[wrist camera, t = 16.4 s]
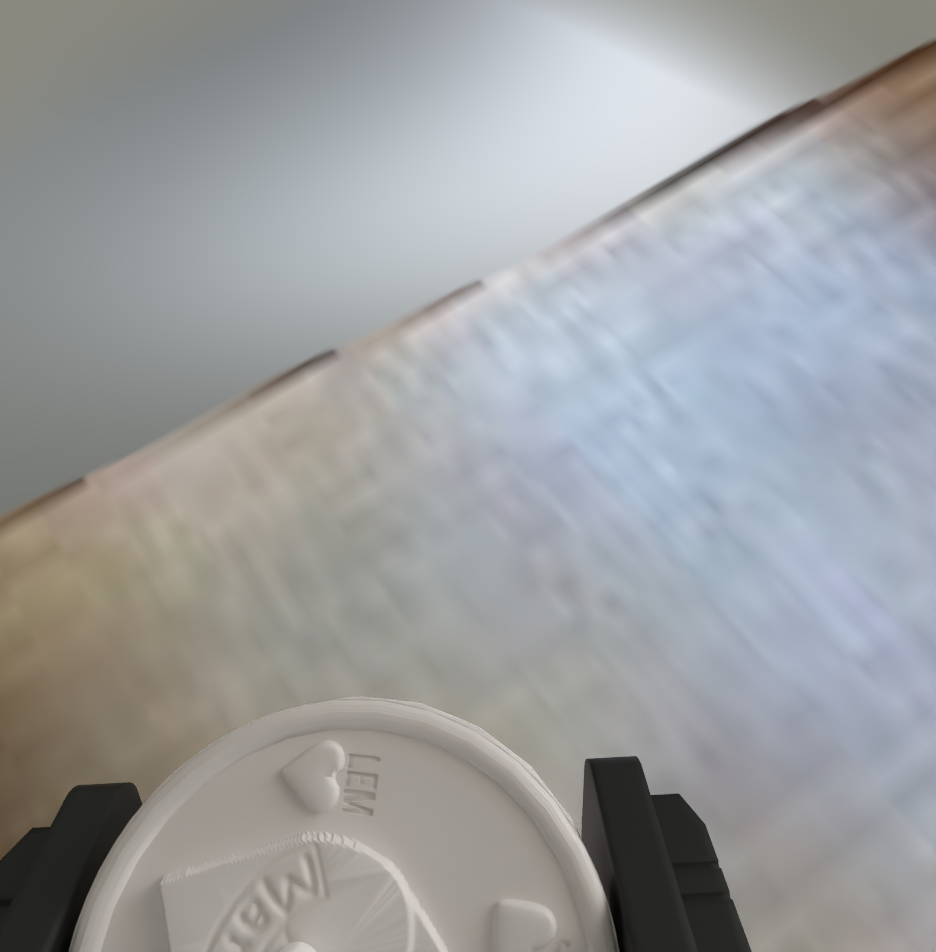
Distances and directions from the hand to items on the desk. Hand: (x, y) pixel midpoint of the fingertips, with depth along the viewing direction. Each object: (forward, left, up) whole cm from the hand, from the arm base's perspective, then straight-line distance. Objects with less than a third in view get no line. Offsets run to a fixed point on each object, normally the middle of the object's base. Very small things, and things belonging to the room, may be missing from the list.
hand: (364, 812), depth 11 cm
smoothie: (+1, +2, -8) cm, 8 cm away
